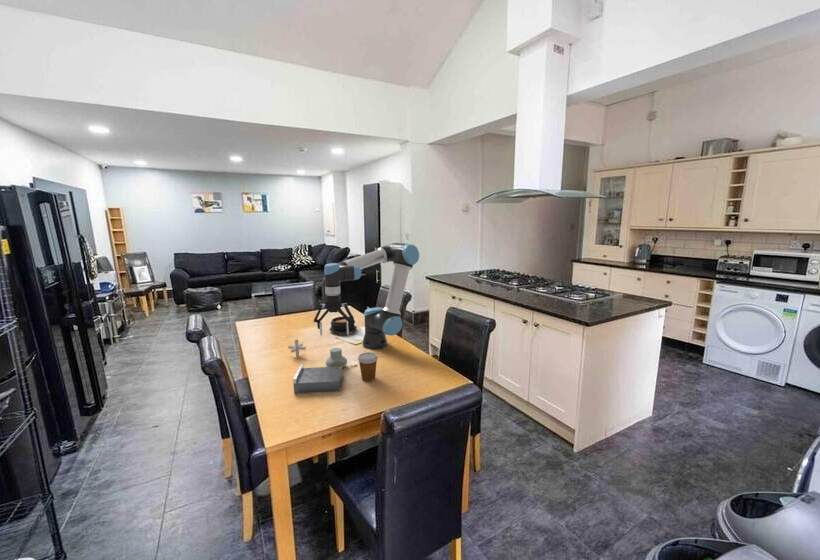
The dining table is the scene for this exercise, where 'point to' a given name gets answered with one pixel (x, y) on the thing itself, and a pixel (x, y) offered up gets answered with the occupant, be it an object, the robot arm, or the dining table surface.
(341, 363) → the air freshener
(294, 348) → the pipe connector
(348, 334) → the robot arm
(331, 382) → the block
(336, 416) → the dining table surface
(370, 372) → the disposable coffee cup
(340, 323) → the casserole
